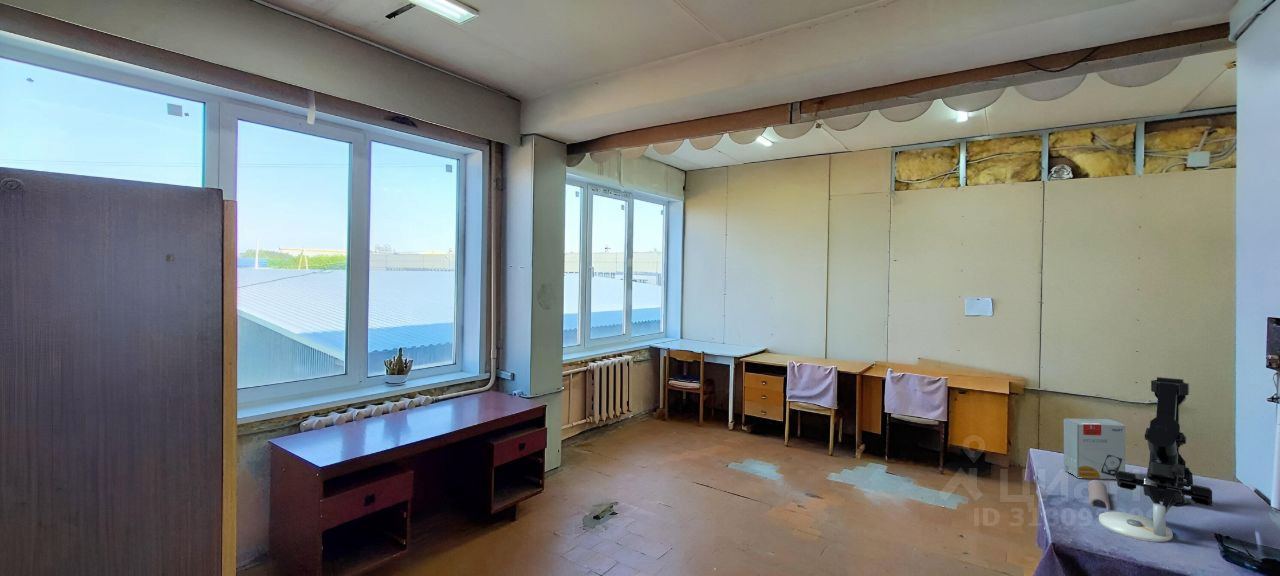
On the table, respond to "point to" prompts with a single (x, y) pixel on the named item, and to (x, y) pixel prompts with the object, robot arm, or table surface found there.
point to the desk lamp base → (1139, 525)
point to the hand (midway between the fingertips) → (1161, 515)
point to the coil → (1098, 493)
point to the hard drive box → (1094, 448)
